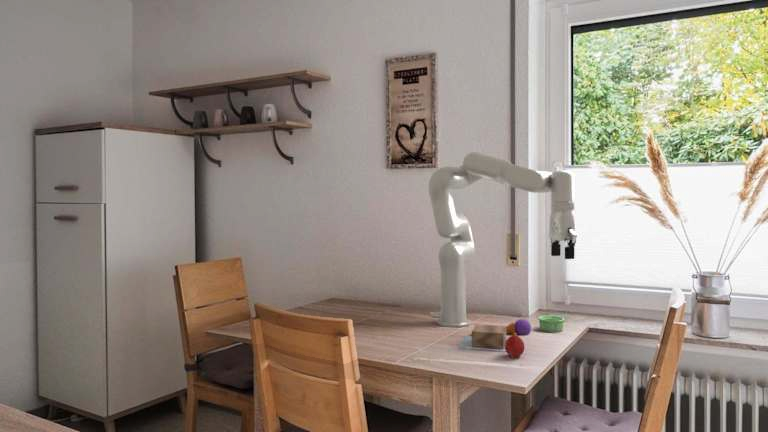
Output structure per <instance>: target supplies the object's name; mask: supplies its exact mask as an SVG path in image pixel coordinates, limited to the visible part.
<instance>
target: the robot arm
mask: <svg viewBox="0 0 768 432" xmlns="http://www.w3.org/2000/svg"><path fill="white" fill-rule="evenodd" d="M482 179H486V180H489V181H493V182H496V183H499V184H502V185H506V186H509V187H511V188H515V189H518V190H522V191H525V192H529V193H534V194H535V193H540V194H541V193H543V194H544V193H551V194H550V195H551V196H550V202H551V203H550V207H551V208H550V210H551V211H550V212H551V213H550V216H549V218H550V219H549V229H548V230H549V233H548V236H549V237H548V238H549V240H550V247H551V249H550V251H551V253H550V254H551V256H552V257H560V256H561V244H560V243H561V242H562V241H563V242H564V245H565V247H564V259H565V260H573V259H575V247H576V243H577V236H578V234H577V233H576V232H575V231H576V230H575V229H576V228H575V225H576V224H575V215H574V214H575V213H574V212H575V174H574V171H570V170H555V171H544V170H535V169H531V168H528V167H527V168H526V167H523V166H519V165H517V164H513V163H512V162H511V161H510V160H508V159H505V158H501V157H496V156H493V155H489V154H488V153H486V152H485V153H484V152H477V151H473V152H470V153H468V154H466V156H465V157H464V158H463V160H462V165H460V166H459V167H458V166H456V167H455V166H442V167H440V168H438V169H436V170H435V171H434V172H433V173H432V174H431V177H430V178H429V181H428V185H427V187H428V188H427V189H428V194H429V198H430V201H431V202H430V203H431V207H432V212H433V214H432V215H433V218H434V223H435V224H434V225H435V227H436V232H437V233H438V235H439V236H440V238H443V239H450V241H448V242H445V243H444V244H442V246H441V247H440V249H439V251H438V262H439V263H438V264H439V269H440V311H437V312H436V311H430V312H429V317H431V318H433V319H434V318H435V319H436V318H437V320H436V324H438V326H441V327H447V328H460V327H462V328H463V327H467V326H469V325H471V320H470V319H467V278H466V277H467V276H466V270H465V265H467V264H469V263H470V262H472V261H473V260H474V258H475V255H476V248H475V242H474V238H473V237H474V236H473V233H472V228H471V224H470V222H469V219H468V217H466V216H465V215H464V214H463V213H460V212H457V209H456V208H455V207H456V206H455V201H454V199H453V196H452V195H451V192H450V190H463V189H465V188H467V187H469V186H470V185H472V184H474V183H476V182H478V181H480V180H482Z"/></svg>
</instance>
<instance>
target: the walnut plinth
mask: <svg viewBox="0 0 768 432" xmlns="http://www.w3.org/2000/svg"><path fill="white" fill-rule="evenodd" d="M471 337H472V347H480V348H494V349H504V346H505V343H506V339H507V332H506V326H505V325H504V326H502V325H492V324H491V325H488V324H487V325H486V324H475V326H474V327H473V329H472V330H471Z"/></svg>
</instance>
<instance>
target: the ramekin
mask: <svg viewBox="0 0 768 432" xmlns="http://www.w3.org/2000/svg"><path fill="white" fill-rule="evenodd" d="M564 321H565V318H564V317H562V316H558V315H541V316H539V317H538V323H539V329H540V331H542V332H547V333H560V332H562V331H563V329H564V323H565V322H564Z"/></svg>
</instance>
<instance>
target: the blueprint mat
mask: <svg viewBox="0 0 768 432" xmlns="http://www.w3.org/2000/svg"><path fill="white" fill-rule="evenodd" d="M507 339H508V338H506V340H507ZM457 349H458V350H471V351H472V350H473V351H485V352H486V351H487V352H499V353H500V352H501V353H507V352H506V350H505V346H504V349H494V348H480V347H472V336H465V337H464V338H463V339H462V341H461V343H460V344H459V346H458V347H457Z"/></svg>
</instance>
